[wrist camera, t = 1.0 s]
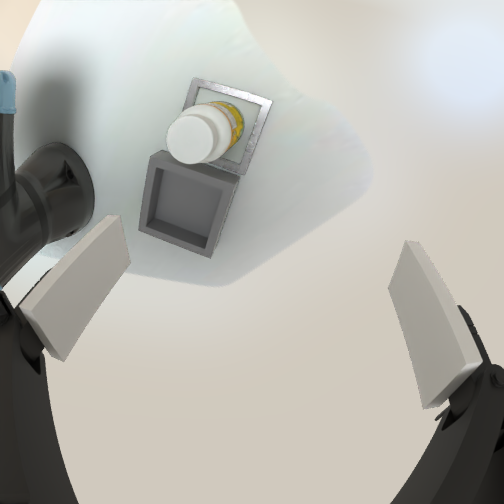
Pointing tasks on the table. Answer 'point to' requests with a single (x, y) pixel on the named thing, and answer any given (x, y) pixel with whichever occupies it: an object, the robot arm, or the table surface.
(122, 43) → the table surface
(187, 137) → the supplement bottle
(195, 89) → the socket collar
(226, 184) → the bin
